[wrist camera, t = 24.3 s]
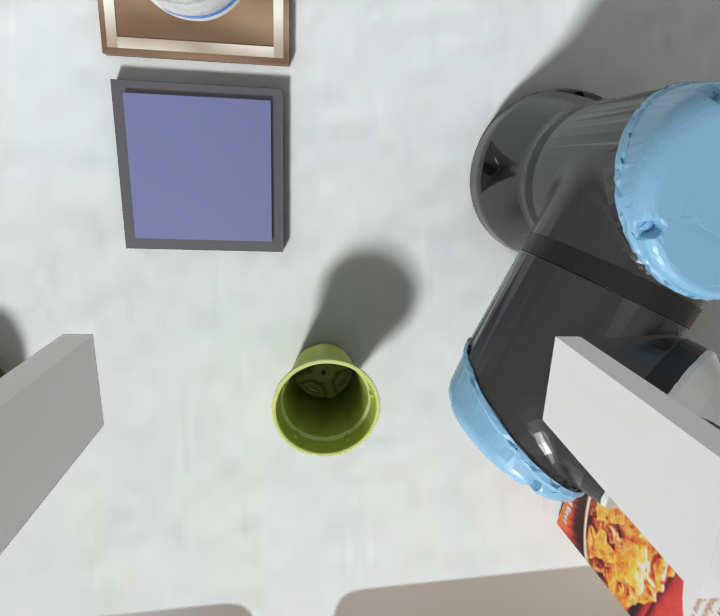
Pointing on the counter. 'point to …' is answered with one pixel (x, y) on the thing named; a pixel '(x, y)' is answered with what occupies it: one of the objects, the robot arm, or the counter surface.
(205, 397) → the counter surface
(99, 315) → the counter surface
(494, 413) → the robot arm
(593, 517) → the orange cereal box
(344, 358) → the plant pot
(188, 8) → the supplement tub
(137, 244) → the ink pad
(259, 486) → the counter surface
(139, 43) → the board
